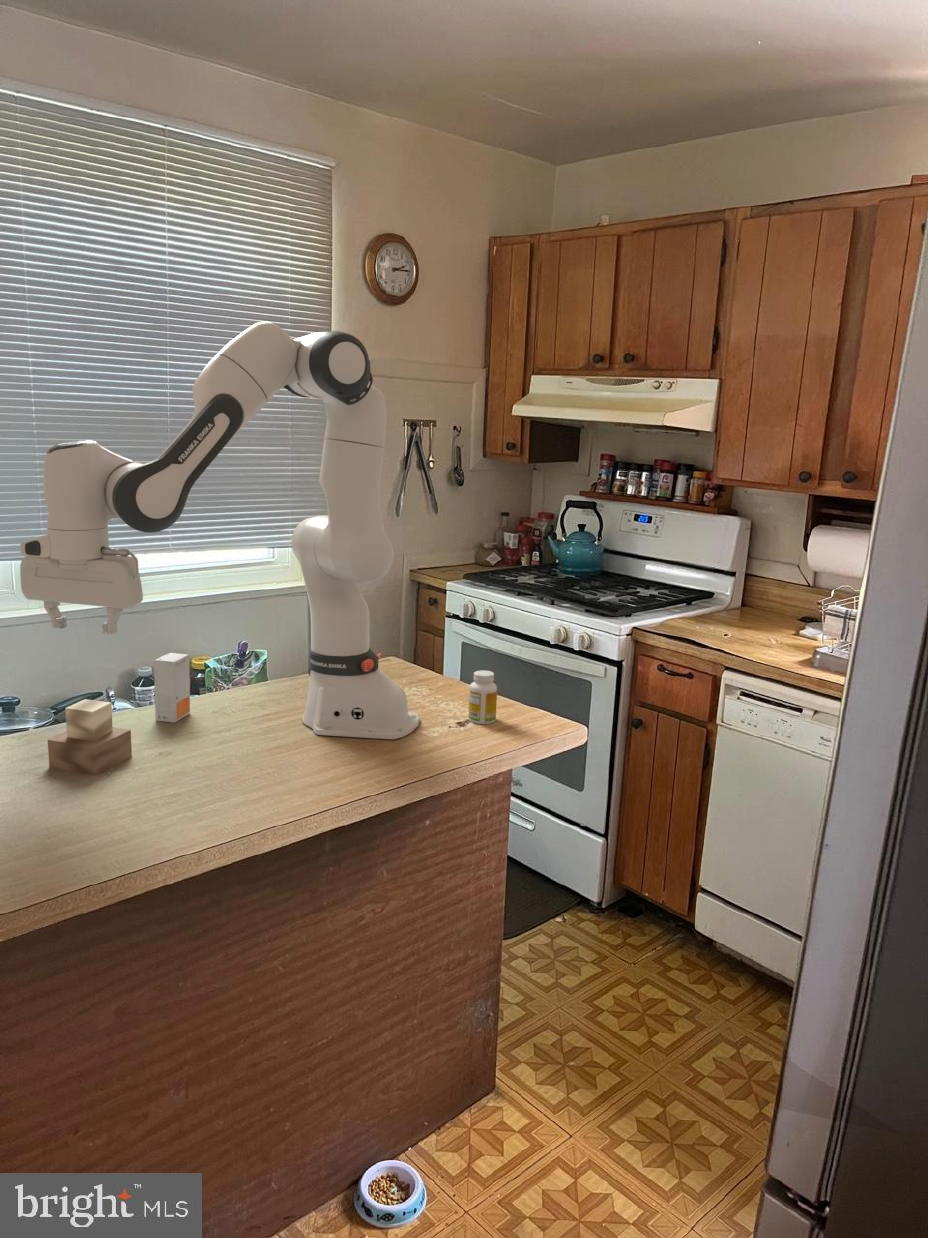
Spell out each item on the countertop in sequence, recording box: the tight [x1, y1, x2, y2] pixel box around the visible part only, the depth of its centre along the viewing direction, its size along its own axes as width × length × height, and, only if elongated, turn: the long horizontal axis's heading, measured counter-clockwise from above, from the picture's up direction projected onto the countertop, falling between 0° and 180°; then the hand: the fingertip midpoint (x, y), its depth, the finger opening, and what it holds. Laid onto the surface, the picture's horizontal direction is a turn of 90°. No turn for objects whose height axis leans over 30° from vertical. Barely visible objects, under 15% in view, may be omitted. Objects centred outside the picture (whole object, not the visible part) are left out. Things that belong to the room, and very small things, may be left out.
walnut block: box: [47, 726, 133, 776], centre depth 148 cm, size 9×9×5 cm
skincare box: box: [153, 652, 191, 723], centre depth 170 cm, size 6×4×12 cm
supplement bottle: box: [468, 670, 498, 725], centre depth 175 cm, size 5×5×10 cm
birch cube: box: [64, 698, 113, 741], centre depth 147 cm, size 5×5×5 cm
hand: (84, 630), depth 144 cm, fingers open, 8 cm apart
